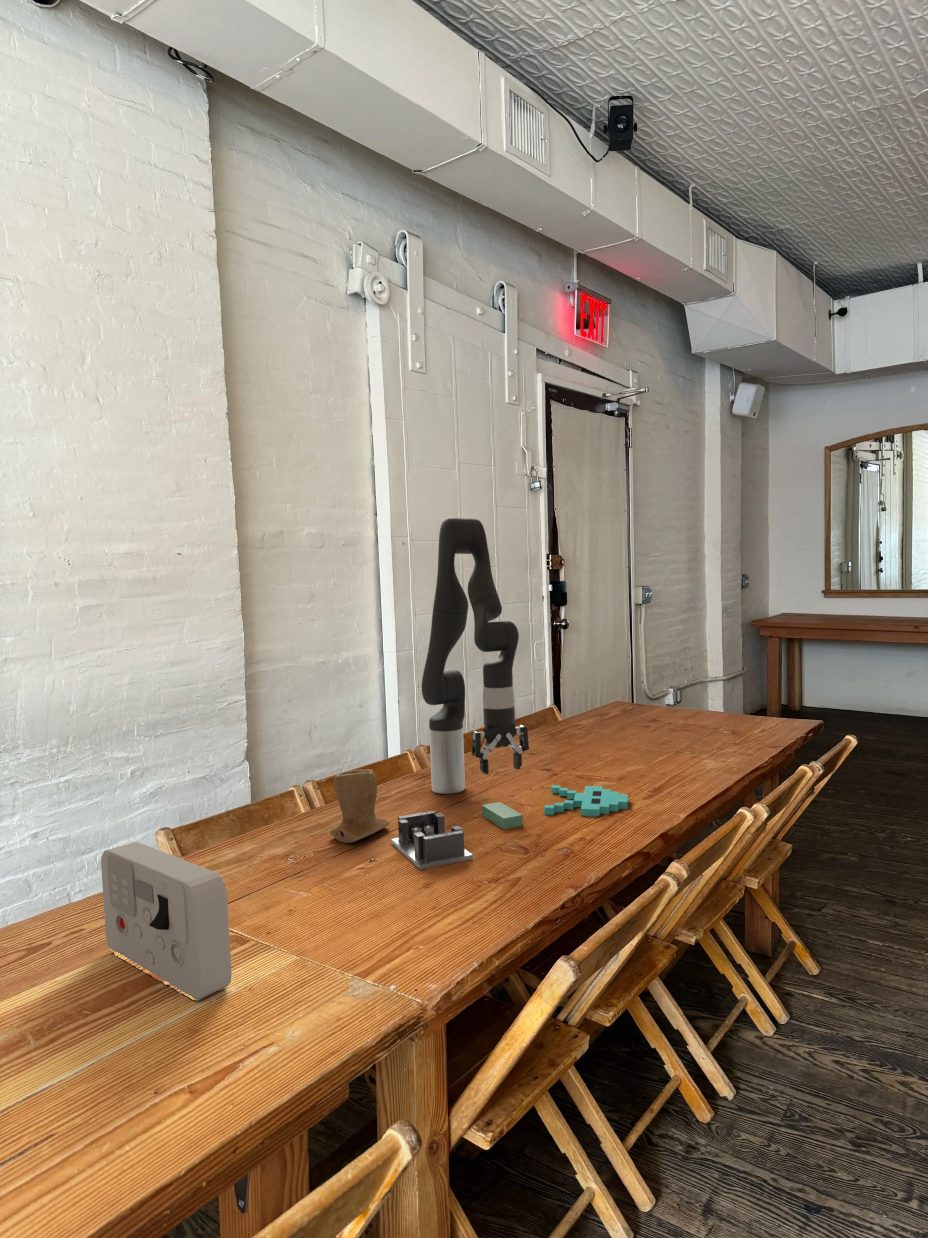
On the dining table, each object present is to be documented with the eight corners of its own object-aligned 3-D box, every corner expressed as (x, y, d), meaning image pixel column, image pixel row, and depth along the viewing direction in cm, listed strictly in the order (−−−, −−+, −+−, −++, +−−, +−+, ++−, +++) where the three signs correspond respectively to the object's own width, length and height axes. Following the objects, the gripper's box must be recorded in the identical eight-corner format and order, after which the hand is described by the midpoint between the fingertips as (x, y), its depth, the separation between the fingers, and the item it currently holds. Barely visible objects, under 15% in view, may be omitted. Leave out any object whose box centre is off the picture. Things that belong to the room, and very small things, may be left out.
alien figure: (544, 816, 205) (627, 819, 201) (544, 807, 205) (627, 810, 201) (552, 793, 225) (628, 795, 221) (552, 785, 224) (627, 787, 220)
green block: (482, 817, 206) (481, 805, 206) (500, 813, 208) (499, 802, 208) (504, 831, 195) (503, 818, 195) (522, 827, 197) (522, 815, 197)
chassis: (391, 843, 188) (390, 817, 188) (440, 834, 193) (439, 809, 193) (419, 869, 172) (418, 841, 171) (472, 859, 177) (471, 831, 176)
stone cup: (357, 821, 205) (354, 761, 204) (396, 828, 199) (394, 766, 198) (316, 840, 192) (313, 776, 191) (356, 848, 186) (353, 782, 185)
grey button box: (93, 957, 138) (85, 851, 137) (136, 940, 144) (129, 838, 143) (187, 1014, 120) (180, 892, 119) (233, 991, 126) (226, 875, 124)
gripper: (517, 699, 206) (520, 764, 207) (465, 705, 200) (467, 772, 201) (532, 703, 199) (534, 770, 200) (478, 710, 193) (481, 779, 194)
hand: (501, 771), depth 201 cm, fingers open, 8 cm apart
